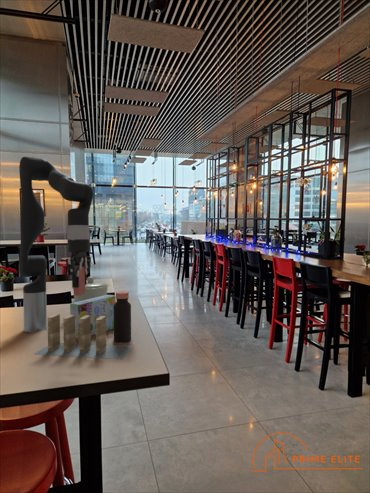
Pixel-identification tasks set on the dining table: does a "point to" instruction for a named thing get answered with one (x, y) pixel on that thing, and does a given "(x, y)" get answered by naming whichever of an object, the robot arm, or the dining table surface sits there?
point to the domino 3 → (80, 283)
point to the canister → (92, 290)
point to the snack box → (94, 312)
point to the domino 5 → (100, 334)
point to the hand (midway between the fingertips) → (79, 286)
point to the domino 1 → (53, 332)
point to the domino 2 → (69, 332)
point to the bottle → (122, 318)
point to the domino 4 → (85, 333)
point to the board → (89, 352)
